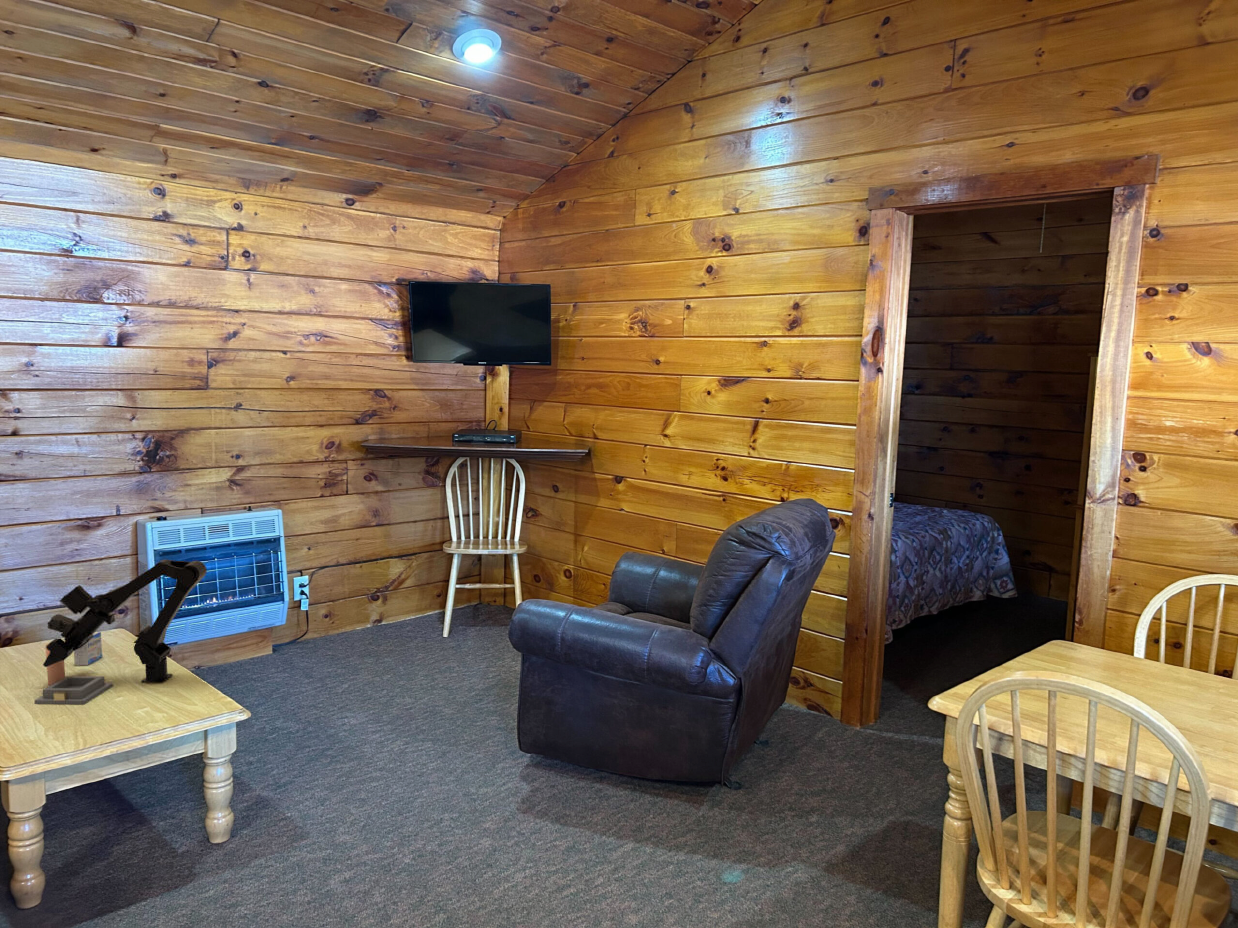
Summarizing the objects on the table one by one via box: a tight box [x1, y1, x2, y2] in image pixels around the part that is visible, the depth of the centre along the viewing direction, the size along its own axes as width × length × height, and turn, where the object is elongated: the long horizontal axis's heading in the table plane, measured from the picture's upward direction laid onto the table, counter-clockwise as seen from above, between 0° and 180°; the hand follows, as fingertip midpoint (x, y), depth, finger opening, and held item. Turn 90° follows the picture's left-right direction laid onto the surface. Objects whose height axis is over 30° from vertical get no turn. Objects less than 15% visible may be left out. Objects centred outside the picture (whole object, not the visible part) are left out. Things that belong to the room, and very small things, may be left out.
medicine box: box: [73, 631, 103, 666], centre depth 284 cm, size 8×4×9 cm, turn 179°
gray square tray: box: [33, 675, 114, 705], centre depth 256 cm, size 14×14×4 cm
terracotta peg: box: [45, 642, 66, 686], centre depth 264 cm, size 4×4×12 cm
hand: (50, 661), depth 264 cm, fingers open, 7 cm apart
